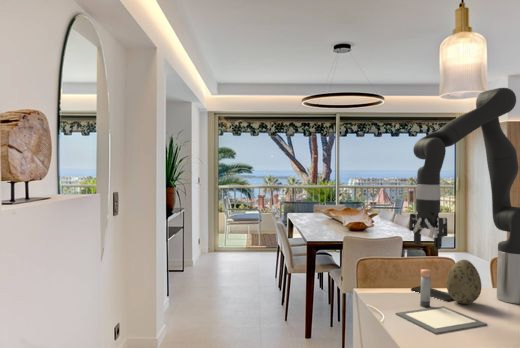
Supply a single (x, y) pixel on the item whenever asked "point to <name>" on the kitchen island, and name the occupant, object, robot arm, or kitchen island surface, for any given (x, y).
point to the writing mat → (440, 319)
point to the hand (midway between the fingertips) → (427, 246)
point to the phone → (435, 294)
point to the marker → (425, 288)
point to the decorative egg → (463, 282)
